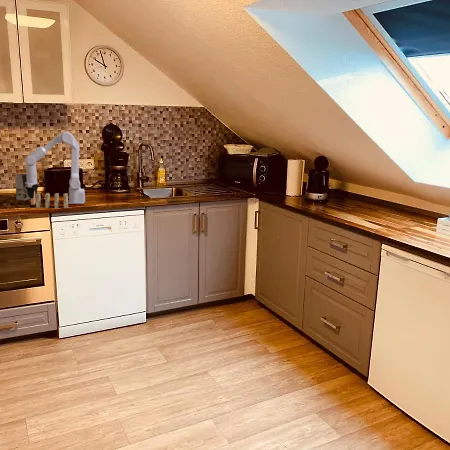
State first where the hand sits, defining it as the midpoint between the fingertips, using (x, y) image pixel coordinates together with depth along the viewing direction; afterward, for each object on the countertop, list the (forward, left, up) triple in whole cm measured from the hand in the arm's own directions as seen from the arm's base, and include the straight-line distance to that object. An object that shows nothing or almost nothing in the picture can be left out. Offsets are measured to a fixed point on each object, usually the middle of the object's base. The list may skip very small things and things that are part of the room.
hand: (33, 197), depth 291 cm
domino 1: (-5, +10, -4) cm, 12 cm away
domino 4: (-21, +10, -4) cm, 23 cm away
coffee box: (+9, -17, -4) cm, 19 cm away
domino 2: (-10, +10, -4) cm, 15 cm away
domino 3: (-16, +10, -4) cm, 19 cm away
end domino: (0, 0, -4) cm, 4 cm away
